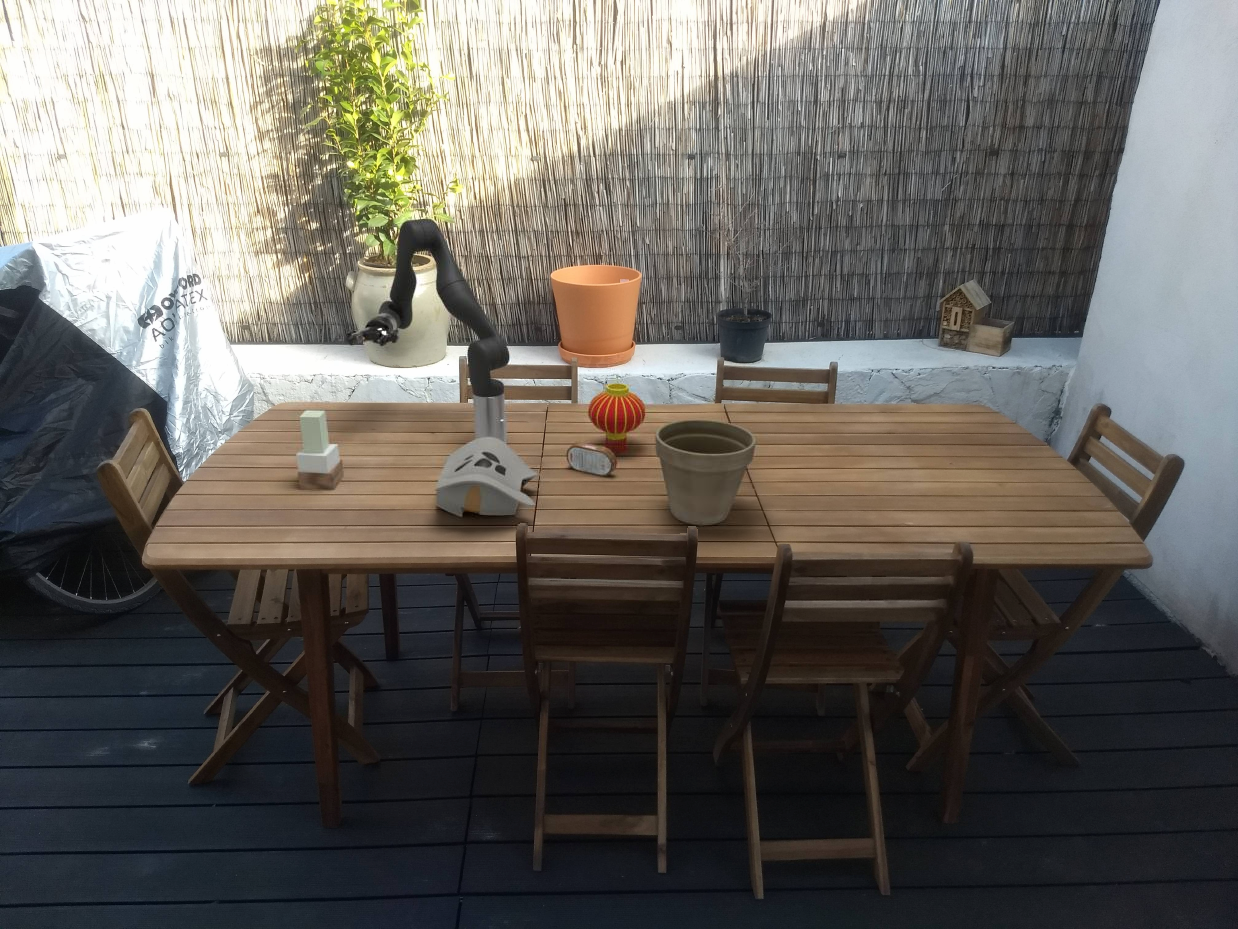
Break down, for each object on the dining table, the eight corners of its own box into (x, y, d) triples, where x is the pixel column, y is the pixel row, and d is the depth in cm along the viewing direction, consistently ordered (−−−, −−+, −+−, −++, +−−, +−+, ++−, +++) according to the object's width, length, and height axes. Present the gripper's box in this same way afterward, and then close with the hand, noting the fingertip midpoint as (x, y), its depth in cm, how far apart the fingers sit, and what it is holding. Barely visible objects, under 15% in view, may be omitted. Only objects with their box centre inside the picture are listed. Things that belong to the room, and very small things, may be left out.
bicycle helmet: (443, 476, 219) (452, 424, 213) (534, 495, 222) (546, 444, 216) (423, 525, 193) (433, 468, 187) (527, 545, 196) (540, 490, 190)
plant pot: (694, 483, 223) (700, 410, 214) (767, 514, 207) (776, 436, 198) (631, 510, 207) (634, 433, 198) (705, 546, 191) (711, 464, 182)
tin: (617, 475, 226) (617, 448, 223) (612, 480, 224) (612, 452, 220) (570, 465, 232) (570, 438, 228) (564, 469, 229) (564, 442, 226)
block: (329, 445, 216) (325, 410, 212) (323, 452, 211) (318, 417, 207) (310, 445, 215) (306, 410, 211) (304, 452, 211) (299, 416, 207)
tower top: (339, 461, 219) (337, 444, 217) (328, 473, 211) (325, 456, 209) (311, 459, 219) (308, 442, 217) (298, 471, 212) (296, 454, 210)
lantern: (578, 454, 239) (579, 357, 226) (601, 435, 253) (602, 343, 241) (631, 465, 233) (635, 366, 221) (651, 444, 248) (656, 350, 235)
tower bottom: (343, 476, 222) (341, 459, 220) (334, 490, 213) (332, 473, 211) (310, 475, 221) (308, 459, 219) (300, 490, 213) (297, 473, 211)
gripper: (356, 315, 241) (339, 328, 226) (404, 316, 241) (389, 330, 226) (359, 339, 244) (342, 354, 229) (406, 340, 244) (392, 355, 229)
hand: (365, 342), depth 228 cm, fingers open, 8 cm apart
